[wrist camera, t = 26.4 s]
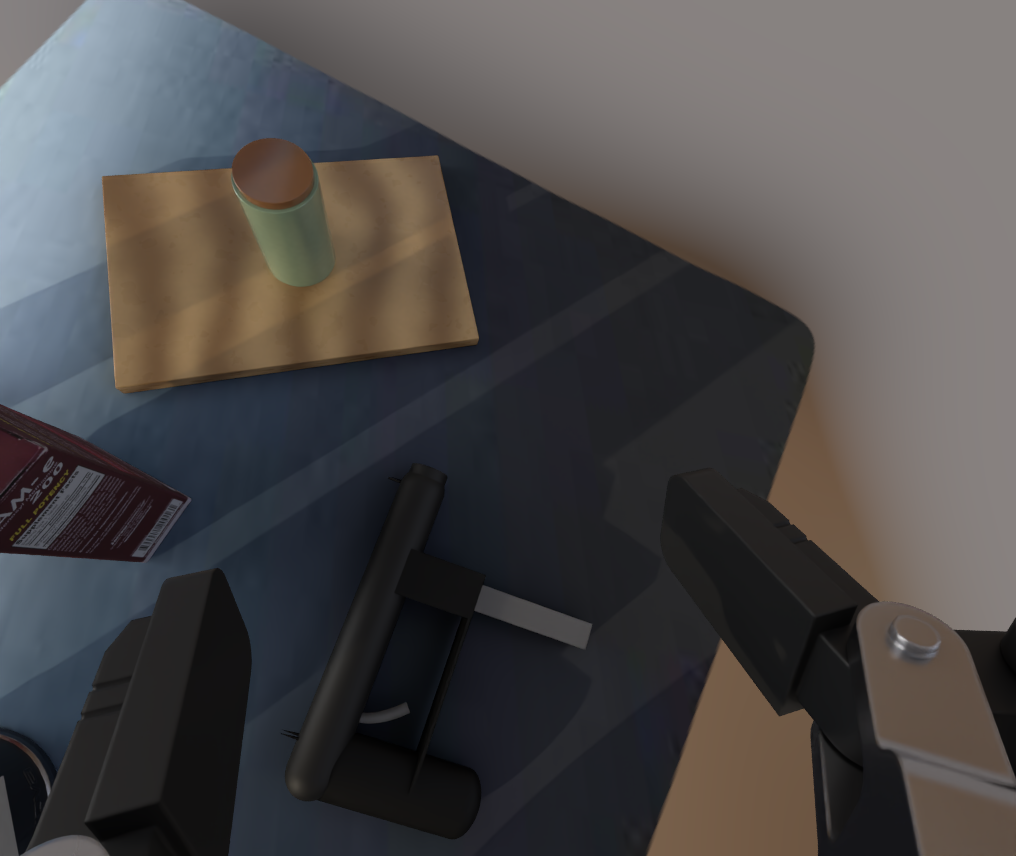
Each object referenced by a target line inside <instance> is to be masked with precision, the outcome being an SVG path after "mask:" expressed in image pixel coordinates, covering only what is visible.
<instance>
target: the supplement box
mask: <svg viewBox="0 0 1016 856" xmlns="http://www.w3.org/2000/svg"><path fill="white" fill-rule="evenodd" d="M190 502H191V498H190V497H188V496H186V495H184V494H182V493H181V492H179V491H177V490H175V489H173V488H172V487H170V486H168V485H166V484H164V483H163V482H161V481H159V480H157V479H155V478H153V477H152V476H150V475H148V474H146V473H144V472H143V471H141V470H139V469H137V468H135V467H134V466H132V465H130V464H128V463H126V462H124V461H123V460H121V459H119V458H117V457H115V456H114V455H112V454H110V453H108V452H106V451H105V450H103V449H101V448H99V447H97V446H95V445H94V444H92V443H90V442H88V441H86V440H84V439H82V438H80V437H78V436H76V435H73V434H71V433H68V432H66V431H63V430H61V429H59V428H56V427H54V426H51V425H49V424H46V423H44V422H42V421H39V420H37V419H34V418H32V417H29V416H27V415H24V414H22V413H20V412H17V411H15V410H12V409H10V408H8V407H5V406H3V405H1V404H0V553H10V554H29V555H43V556H58V557H72V558H88V559H100V560H116V561H130V562H148V561H149V559H150V558H151V556H152V555H153V553H154V552H155V551H156V549H157V548H158V546H159V545H160V544H161V542H162V541H163V539H164V538H165V536H166V535H167V534H168V532H169V531H170V529H171V528H172V527H173V525H174V524H175V522H176V521H177V520H178V518H179V517H180V516H181V514H182V513H183V511H184V510H185V509H186V507H187V506H188V504H189V503H190Z"/></svg>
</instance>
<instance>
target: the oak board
mask: <svg viewBox="0 0 1016 856" xmlns="http://www.w3.org/2000/svg"><path fill="white" fill-rule="evenodd" d="M314 165H315V167H316V169H317V172H318V176H319V181H320V185H321V190H322V195H323V199H324V204H325V208H326V213H327V218H328V222H329V227H330V231H331V236H332V241H333V245H334V250H335V256H336V259H335V265H334V267H333V270H332V271H331V273H330V274H329V275H328V276H327V277H326V278H325V279H324V280H323V281H321V282H319V283H317V284H315V285H311V286H306V287H296V286H291V285H288V284H285V283H283V282H281V281H280V280H278V279H277V278H276V277H275V276H274V275H273V274H272V273H271V272H270V270H269V269H268V266H267V264H266V262H265V260H264V257H263V255H262V253H261V251H260V248H259V246H258V244H257V241H256V239H255V237H254V235H253V232H252V230H251V228H250V225H249V223H248V221H247V219H246V216H245V214H244V212H243V210H242V207H241V205H240V203H239V200H238V198H237V196H236V194H235V191H234V189H233V186H232V182H231V173H232V168H228V169H212V170H196V171H180V172H163V173H147V174H131V175H115V176H102V185H103V201H104V216H105V232H106V247H107V263H108V278H109V294H110V309H111V325H112V340H113V356H114V371H115V386H116V388H117V389H118V390H120V391H121V392H123V393H132V392H139V391H146V390H153V389H160V388H168V387H175V386H182V385H189V384H197V383H204V382H211V381H218V380H225V379H233V378H240V377H247V376H254V375H261V374H269V373H276V372H283V371H290V370H298V369H305V368H312V367H319V366H326V365H334V364H341V363H348V362H355V361H363V360H370V359H377V358H384V357H391V356H399V355H406V354H413V353H420V352H427V351H435V350H442V349H449V348H456V347H464V346H471V345H477V343H478V340H479V336H478V331H477V327H476V322H475V318H474V313H473V309H472V305H471V300H470V296H469V291H468V287H467V282H466V278H465V273H464V269H463V264H462V260H461V255H460V251H459V247H458V242H457V238H456V233H455V229H454V224H453V220H452V215H451V211H450V206H449V202H448V197H447V193H446V189H445V184H444V180H443V175H442V171H441V166H440V162H439V157H438V156H422V157H406V158H390V159H374V160H358V161H341V162H325V163H314Z"/></svg>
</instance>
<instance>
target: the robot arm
mask: <svg viewBox="0 0 1016 856" xmlns="http://www.w3.org/2000/svg"><path fill="white" fill-rule="evenodd" d="M660 541H661V548H662V552H663V555H664V558H665V561H666V563H667V565H668V566H669V568H670V569H671V571H672V572H673V573H674V575H675V576H676V577H677V579H678V580H679V582H680V583H681V584H682V586H683V587H684V588H685V590H686V591H687V592H688V594H689V595H690V596H691V598H692V599H693V600H694V602H695V603H696V605H697V606H698V607H699V609H700V610H701V611H702V613H703V614H704V615H705V617H706V618H707V619H708V621H709V622H710V623H711V625H712V626H713V628H714V629H715V630H716V632H717V633H718V634H719V636H720V637H721V638H722V640H723V641H724V642H725V644H726V645H727V646H728V648H729V649H730V651H731V652H732V653H733V654H734V656H735V657H736V659H737V660H738V661H739V663H740V664H741V665H742V667H743V668H744V669H745V671H746V672H747V674H748V675H749V676H750V678H751V679H752V680H753V682H754V683H755V684H756V686H757V687H758V688H759V690H760V691H761V692H762V694H763V695H764V696H765V698H766V699H767V701H768V702H769V703H770V704H771V706H772V707H773V709H774V710H775V711H776V713H777V714H778V715H779V716H782V715H785V714H788V713H791V712H794V711H798V710H800V709H805V710H806V711H807V712H808V714H809V715H810V716H811V717H812V719H813V720H814V721H813V724H812V727H811V749H812V763H813V777H814V778H813V779H814V793H815V808H816V822H817V837H818V856H1016V618H1015V619H1014V621H1013V623H1012V624H1011V626H1010V627H1009V629H1008V631H1007V632H1000V631H972V630H971V631H970V630H952V629H951V628H950V627H949V626H948V625H947V624H945V623H944V622H942V621H941V620H940V619H938V618H936V617H935V616H933V615H931V614H929V613H927V612H925V611H923V610H921V609H918V608H916V607H913V606H910V605H906V604H902V603H896V602H879V601H878V600H877V599H876V598H874V597H873V596H872V595H871V594H870V593H869V592H868V591H867V590H866V589H864V588H863V587H862V586H861V585H860V584H859V583H858V582H857V581H855V580H854V579H853V578H852V577H851V576H850V575H849V574H848V573H847V572H846V571H845V570H843V569H842V568H841V567H840V566H839V565H838V564H837V563H836V562H835V561H833V560H832V559H831V558H830V557H829V556H828V555H827V554H826V553H824V552H823V551H822V550H821V549H820V548H819V547H818V546H817V545H816V544H815V543H813V542H812V541H811V540H809V541H808V540H807V538H806V535H805V534H804V533H802V532H801V531H800V530H799V529H798V528H797V527H796V526H795V525H791V524H790V523H789V520H788V519H787V518H786V517H785V516H784V515H783V514H781V513H780V512H779V511H778V510H777V509H776V508H775V507H774V506H773V505H772V504H770V503H769V502H768V501H766V500H764V499H762V498H760V497H758V496H756V495H754V494H752V493H750V492H748V491H746V490H744V489H742V488H740V489H735V488H734V487H733V486H732V485H731V484H730V483H729V482H728V481H727V480H726V479H725V478H724V477H723V476H722V475H720V474H719V473H718V472H717V471H716V470H714V469H712V468H706V469H701V470H696V471H691V472H686V473H682V474H677V475H673V476H672V477H671V478H670V479H669V482H668V486H667V493H666V500H665V507H664V514H663V521H662V528H661V536H660ZM251 664H252V659H251V646H250V640H249V636H248V632H247V629H246V627H245V624H244V622H243V619H242V617H241V614H240V612H239V609H238V607H237V604H236V602H235V599H234V597H233V594H232V592H231V589H230V587H229V584H228V582H227V579H226V577H225V575H224V573H223V571H222V570H221V569H219V568H215V569H211V570H206V571H201V572H196V573H191V574H186V575H182V576H177V577H172V578H168V579H166V580H165V581H164V583H163V585H162V587H161V590H160V593H159V596H158V599H157V602H156V605H155V608H154V611H153V614H152V616H149V617H144V618H140V619H135V620H131V621H130V623H129V624H128V625H127V626H126V627H125V629H124V630H123V631H122V632H121V633H120V635H119V636H118V637H117V638H116V639H115V641H114V642H113V643H112V644H111V645H110V647H109V648H108V649H107V650H106V651H105V653H104V656H103V659H102V661H101V664H100V666H99V669H98V671H97V674H96V676H95V679H94V681H93V684H92V686H93V690H92V691H91V692H89V694H88V697H87V699H86V702H85V704H84V707H83V709H82V712H81V715H82V718H81V720H80V721H78V722H77V725H76V727H75V730H74V732H73V735H72V738H71V740H70V743H69V745H68V748H67V750H66V753H65V755H64V758H63V760H62V763H61V766H60V768H59V771H58V773H56V770H55V768H54V766H53V764H52V762H51V761H50V759H49V757H48V756H47V755H46V753H45V752H44V751H43V750H42V749H41V748H40V747H39V746H38V745H37V744H36V743H34V742H33V741H32V740H30V739H28V738H27V737H25V736H23V735H21V734H19V733H16V732H13V731H10V730H6V729H1V728H0V856H228V852H229V844H230V836H231V828H232V820H233V812H234V804H235V796H236V788H237V780H238V772H239V764H240V756H241V748H242V740H243V732H244V724H245V716H246V708H247V700H248V691H249V683H250V675H251Z"/></svg>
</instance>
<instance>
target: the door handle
mask: <svg viewBox="0 0 1016 856" xmlns="http://www.w3.org/2000/svg"><path fill="white" fill-rule="evenodd" d="M388 479H390V480H393V481H396V482H398V483H400V485H399V488H398V490H397V493H396V495H395V498H394V500H393V503H392V505H391V508H390V510H389V513H388V515H387V518H386V520H385V522H384V525H383V527H382V530H381V532H380V535H379V537H378V540H377V542H376V545H375V547H374V550H373V552H372V555H371V557H370V560H369V562H368V565H367V567H366V570H365V572H364V575H363V577H362V580H361V582H360V584H359V587H358V589H357V592H356V594H355V597H354V599H353V602H352V604H351V607H350V609H349V612H348V614H347V617H346V619H345V622H344V624H343V627H342V629H341V632H340V634H339V637H338V639H337V642H336V644H335V646H334V649H333V651H332V654H331V656H330V659H329V661H328V664H327V666H326V669H325V671H324V674H323V676H322V679H321V681H320V684H319V686H318V689H317V691H316V694H315V696H314V699H313V701H312V704H311V706H310V708H309V711H308V713H307V716H306V718H305V721H304V723H303V726H302V728H301V731H300V733H295V732H291V731H287V732H289V733H292V734H294V735H297V736H298V737H295V736H291V735H287V734H283V735H286V736H288V737H291V738H293V739H296V740H297V741H296V743H295V746H294V748H293V751H292V753H291V756H290V758H289V761H288V763H287V766H286V771H285V781H286V785H287V788H288V790H289V791H290V793H291V794H292V795H293V796H294V797H295V798H297V799H299V800H302V801H314V800H319V801H322V802H326V803H329V804H332V805H336V806H339V807H343V808H346V809H349V810H353V811H356V812H360V813H363V814H366V815H370V816H373V817H377V818H380V819H383V820H387V821H390V822H394V823H397V824H401V825H404V826H407V827H411V828H414V829H418V830H421V831H424V832H428V833H431V834H435V835H438V836H441V837H445V838H448V839H457V838H459V837H461V836H463V835H464V834H465V833H466V832H467V831H468V830H469V828H470V827H471V825H472V824H473V822H474V820H475V818H476V816H477V813H478V810H479V806H480V801H481V784H480V780H479V777H478V775H477V774H476V772H475V771H474V770H473V769H471V768H468V767H465V766H462V765H459V764H455V763H452V762H449V761H446V760H443V759H439V758H436V757H433V756H430V755H427V754H426V752H427V749H428V746H429V743H430V740H431V737H432V734H433V731H434V728H435V725H436V722H437V719H438V716H439V713H440V710H441V707H442V704H443V701H444V698H445V695H446V692H447V689H448V686H449V683H450V680H451V677H452V674H453V671H454V668H455V666H456V663H457V660H458V657H459V654H460V651H461V648H462V645H463V642H464V639H465V636H466V633H467V630H468V627H469V624H470V621H471V619H472V616H473V613H474V611H477V612H479V613H482V614H485V615H488V616H491V617H494V618H497V619H499V620H502V621H505V622H508V623H511V624H514V625H516V626H519V627H522V628H525V629H528V630H531V631H534V632H536V633H539V634H542V635H545V636H548V637H551V638H554V639H556V640H559V641H562V642H565V643H568V644H571V645H573V646H576V647H579V648H582V649H586V645H587V642H588V638H589V634H590V631H591V627H592V624H590V623H587V622H585V621H582V620H579V619H576V618H573V617H571V616H568V615H565V614H562V613H559V612H557V611H554V610H551V609H548V608H545V607H543V606H540V605H537V604H534V603H531V602H529V601H526V600H523V599H520V598H517V597H515V596H512V595H509V594H506V593H504V592H501V591H498V590H495V589H492V588H490V587H487V586H484V585H483V583H484V580H485V577H486V575H483V574H481V573H478V572H475V571H472V570H470V569H467V568H464V567H461V566H459V565H456V564H453V563H450V562H447V561H445V560H442V559H439V558H436V557H434V556H431V555H428V554H425V553H423V550H424V548H425V545H426V542H427V540H428V537H429V534H430V532H431V529H432V526H433V524H434V521H435V518H436V516H437V513H438V510H439V508H440V505H441V502H442V500H443V497H444V485H445V483H446V480H447V475H445V474H444V473H442V472H441V471H439V470H436V469H434V468H431V467H429V466H426V465H422V464H417V463H413V464H412V466H411V468H410V471H409V472H408V473H407V474H406V475H405V476H404V477H403V479H401V480H399V479H397V480H396V478H395V479H393V477H392V478H390V477H388ZM398 480H399V481H398ZM406 597H407V598H410V599H413V600H416V601H419V602H422V603H424V604H427V605H430V606H433V607H436V608H439V609H442V610H445V611H447V612H450V613H453V614H456V615H459V616H462V618H461V621H460V624H459V627H458V630H457V633H456V636H455V639H454V642H453V645H452V647H451V650H450V653H449V656H448V659H447V662H446V665H445V668H444V671H443V674H442V677H441V680H440V683H439V686H438V689H437V691H436V694H435V697H434V700H433V703H432V706H431V709H430V712H429V715H428V718H427V721H426V724H425V727H424V730H423V733H422V735H421V738H420V741H419V744H418V747H417V750H416V751H414V750H411V749H407V748H404V747H401V746H398V745H395V744H391V743H388V742H385V741H382V740H379V739H375V738H372V737H369V736H366V735H362V734H359V733H356V729H357V726H358V724H359V723H367V724H371V723H381V722H386V721H390V720H393V719H397V718H399V717H402V716H404V715H407V714H409V713H410V711H409V708H408V705H407V703H406V702H405V703H403V704H400V705H398V706H395V707H393V708H390V709H387V710H383V711H378V712H372V713H363V710H364V708H365V705H366V702H367V700H368V697H369V694H370V692H371V689H372V686H373V684H374V681H375V678H376V676H377V673H378V670H379V668H380V665H381V662H382V660H383V657H384V654H385V652H386V649H387V646H388V644H389V641H390V638H391V636H392V633H393V630H394V628H395V625H396V622H397V620H398V617H399V614H400V612H401V609H402V606H403V604H404V601H405V598H406ZM284 731H286V730H284ZM281 734H282V733H281Z"/></svg>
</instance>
